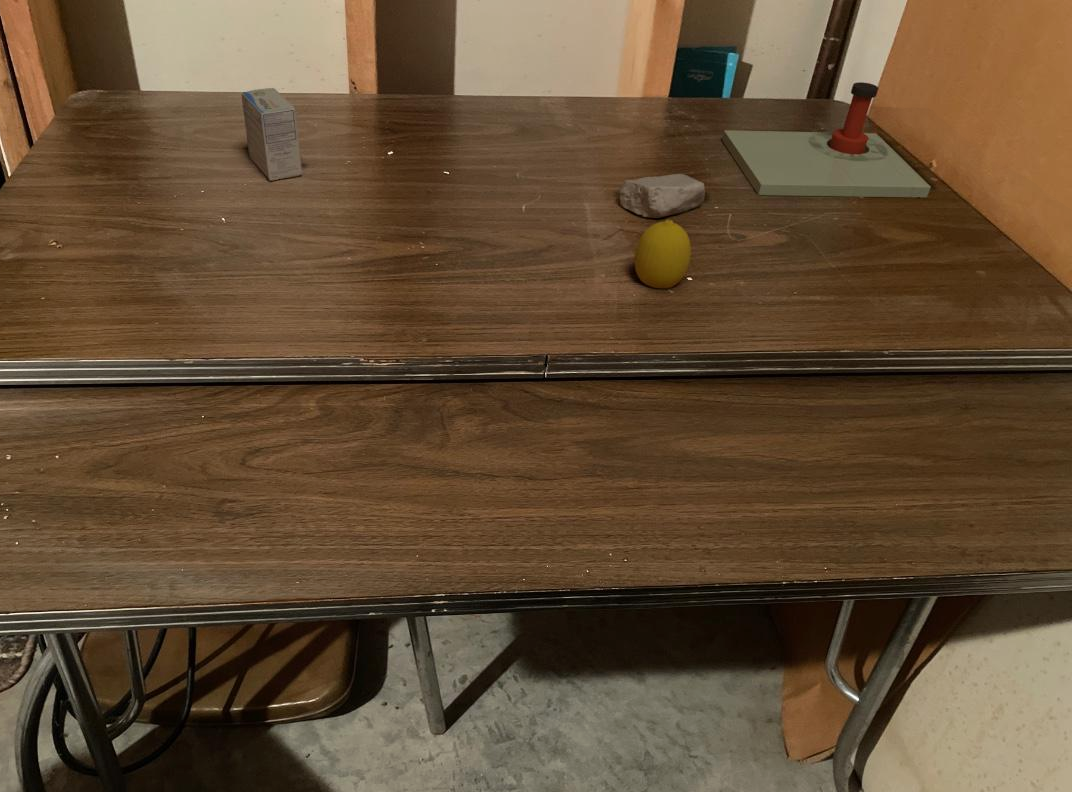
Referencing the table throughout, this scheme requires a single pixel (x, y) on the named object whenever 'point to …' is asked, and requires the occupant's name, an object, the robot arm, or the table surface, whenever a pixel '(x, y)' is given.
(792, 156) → the drain plate
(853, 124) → the stopper
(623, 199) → the grey chipped rock
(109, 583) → the table surface
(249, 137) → the medicine box
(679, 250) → the lemon
